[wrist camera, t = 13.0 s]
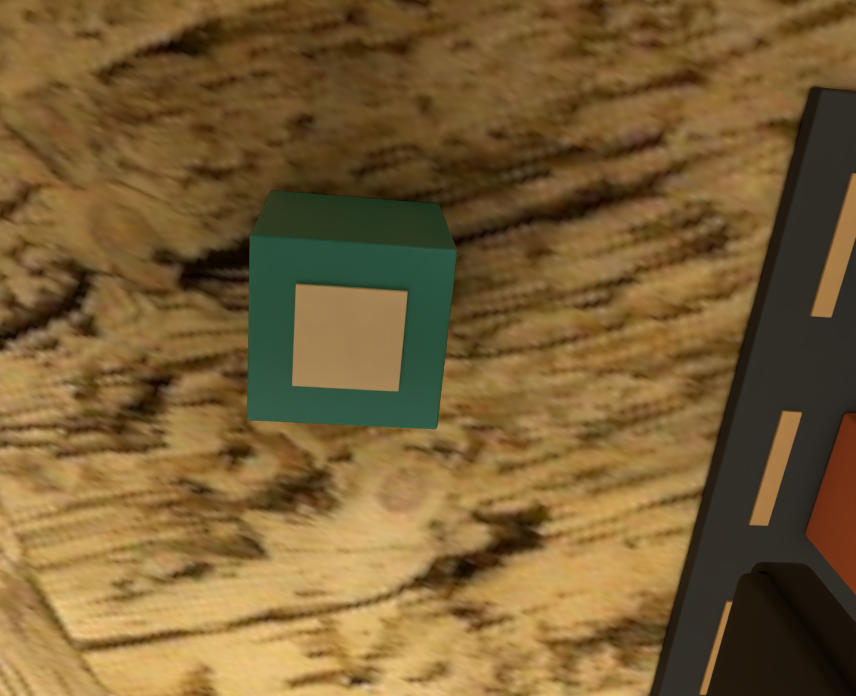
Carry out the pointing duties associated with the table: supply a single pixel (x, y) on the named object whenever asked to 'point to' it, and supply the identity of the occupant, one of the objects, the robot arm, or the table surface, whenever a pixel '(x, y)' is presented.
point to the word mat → (779, 400)
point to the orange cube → (838, 506)
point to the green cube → (348, 311)
